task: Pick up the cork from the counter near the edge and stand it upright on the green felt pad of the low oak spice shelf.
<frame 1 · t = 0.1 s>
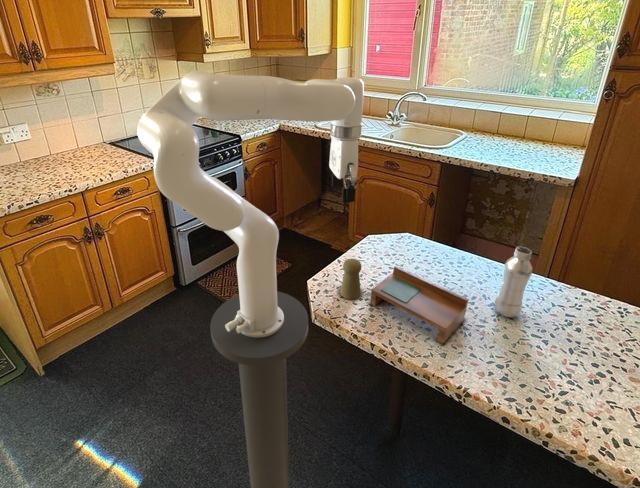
hand: (342, 194, 105), 31 cm above the countertop, tool pointing down, fingers open, 9 cm apart
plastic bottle: (505, 312, 109), on the countertop
shelf: (415, 311, 109), on the countertop
cork: (350, 293, 117), on the countertop
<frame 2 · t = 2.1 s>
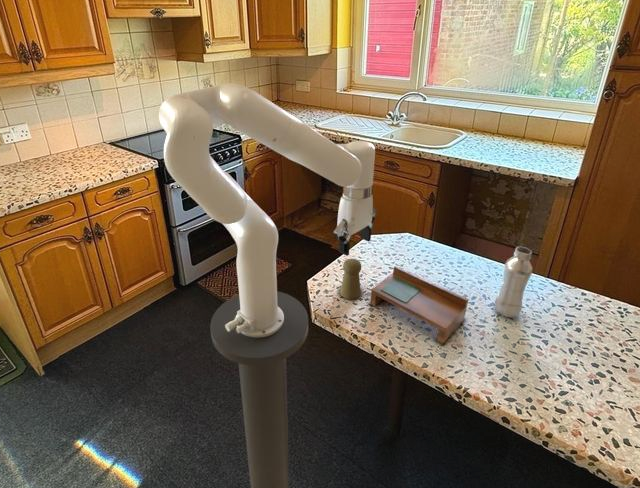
hand: (354, 246, 110), 16 cm above the countertop, tool pointing down, fingers open, 9 cm apart
nothing on the countertop moved.
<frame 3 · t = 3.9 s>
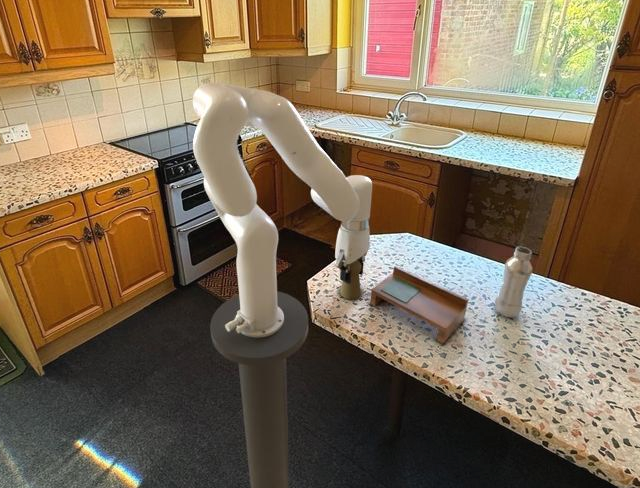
hand: (351, 276, 114), 6 cm above the countertop, tool pointing down, fingers closed on cork, 5 cm apart
cork: (350, 293, 117), on the countertop, touching gripper
everything else where it was.
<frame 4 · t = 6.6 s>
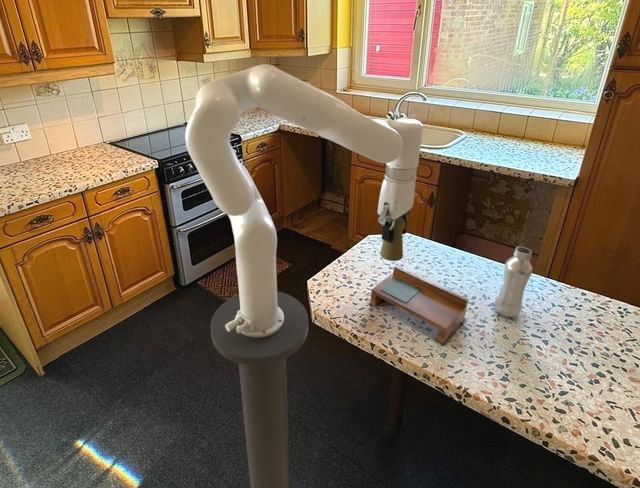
hand: (393, 235, 104), 21 cm above the countertop, tool pointing down, fingers closed on cork, 5 cm apart
cork: (391, 255, 107), point 15 cm above the countertop, touching gripper
everything else where it was.
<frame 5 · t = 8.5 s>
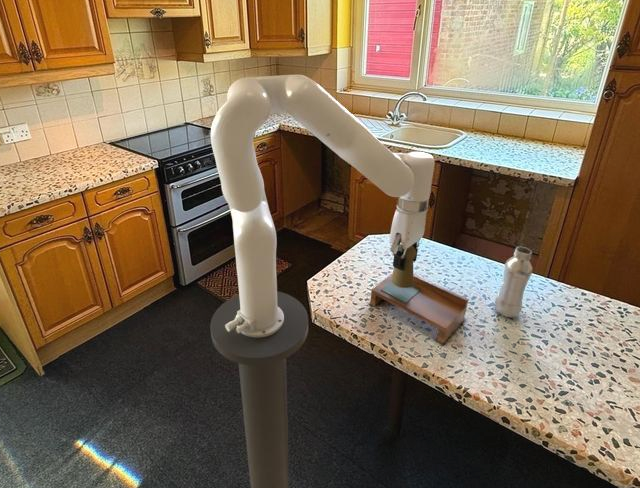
hand: (404, 263, 106), 14 cm above the countertop, tool pointing down, fingers closed on cork, 5 cm apart
cork: (402, 281, 109), point 8 cm above the countertop, touching gripper
everything else where it was.
when the fingers open (11 cm above the countertop, at t = 9.7 s): cork stays where it is, resting on shelf.
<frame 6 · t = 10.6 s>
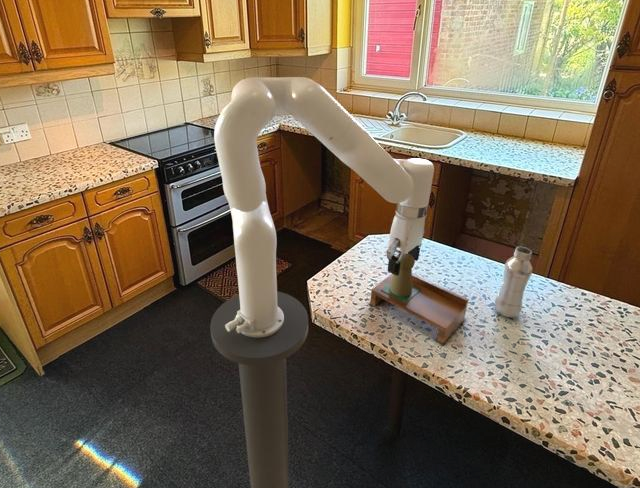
hand: (403, 265, 106), 13 cm above the countertop, tool pointing down, fingers open, 9 cm apart
cork: (400, 289, 110), point 5 cm above the countertop, touching shelf
everything else where it was.
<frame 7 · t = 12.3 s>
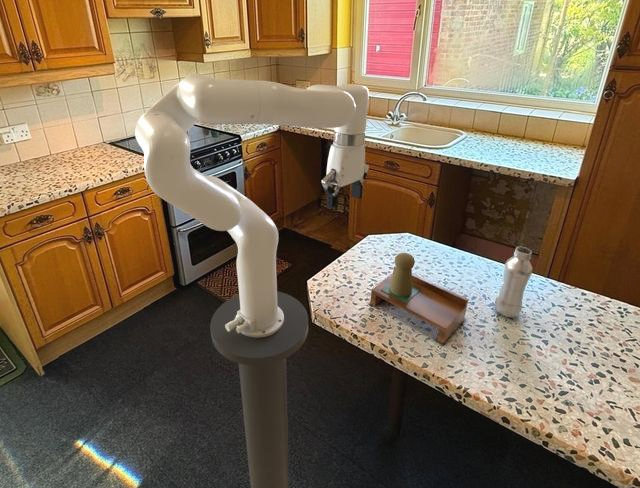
hand: (344, 202, 103), 30 cm above the countertop, tool pointing down, fingers open, 9 cm apart
nothing on the countertop moved.
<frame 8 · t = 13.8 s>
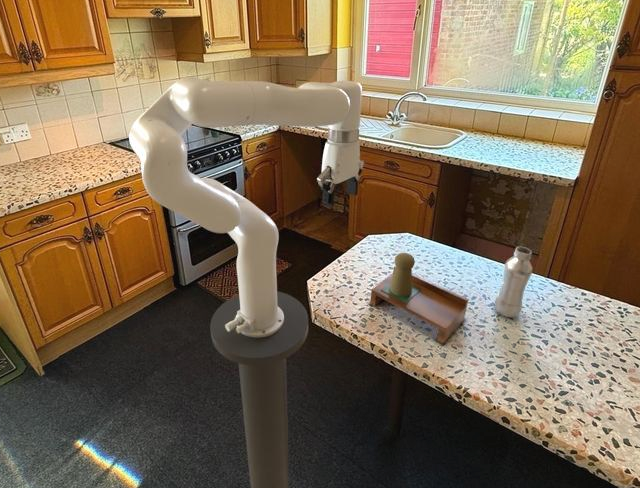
hand: (340, 199, 103), 30 cm above the countertop, tool pointing down, fingers open, 9 cm apart
nothing on the countertop moved.
at the end: cork inside the target area on the shelf (0.1 cm from its centre), point 5.0 cm above the shelf's base; cork tilted 0°; the gripper is holding nothing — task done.
